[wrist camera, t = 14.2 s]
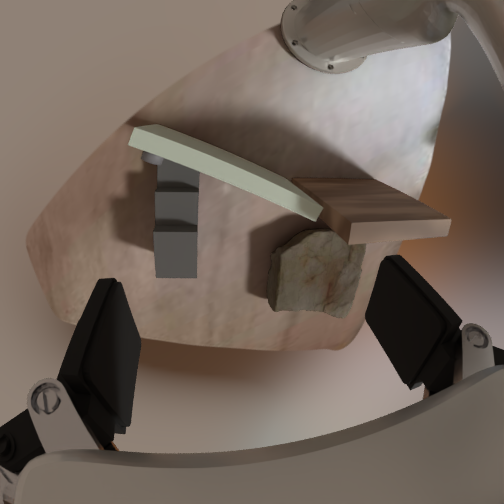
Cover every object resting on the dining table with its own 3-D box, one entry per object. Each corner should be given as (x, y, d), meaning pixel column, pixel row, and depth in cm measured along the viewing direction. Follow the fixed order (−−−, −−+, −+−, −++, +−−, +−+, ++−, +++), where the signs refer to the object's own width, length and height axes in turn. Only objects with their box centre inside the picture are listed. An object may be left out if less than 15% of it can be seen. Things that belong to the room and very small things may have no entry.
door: (157, 123, 29) (134, 127, 18) (285, 178, 35) (323, 207, 24) (148, 144, 30) (122, 159, 19) (275, 196, 36) (309, 233, 25)
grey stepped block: (160, 152, 31) (152, 159, 26) (200, 153, 32) (200, 160, 27) (161, 254, 37) (156, 277, 32) (196, 254, 38) (197, 278, 33)
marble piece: (339, 307, 49) (348, 322, 45) (261, 313, 46) (267, 330, 42) (363, 223, 41) (377, 234, 37) (274, 219, 38) (282, 232, 35)
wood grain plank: (291, 178, 35) (351, 222, 21) (375, 179, 38) (451, 219, 24) (291, 192, 36) (348, 244, 22) (374, 192, 38) (447, 236, 25)
